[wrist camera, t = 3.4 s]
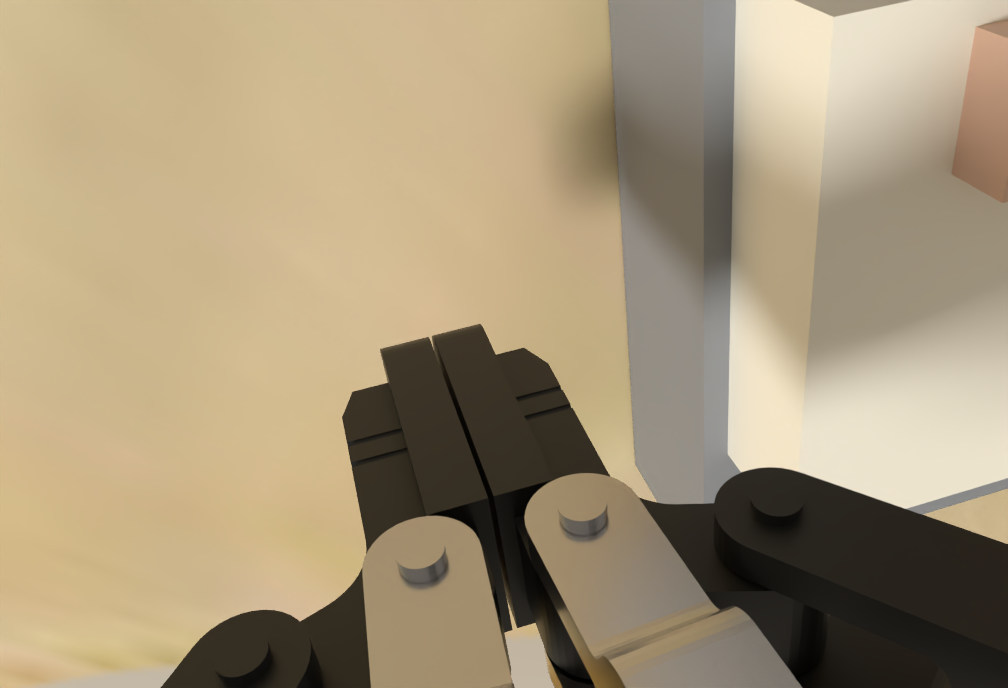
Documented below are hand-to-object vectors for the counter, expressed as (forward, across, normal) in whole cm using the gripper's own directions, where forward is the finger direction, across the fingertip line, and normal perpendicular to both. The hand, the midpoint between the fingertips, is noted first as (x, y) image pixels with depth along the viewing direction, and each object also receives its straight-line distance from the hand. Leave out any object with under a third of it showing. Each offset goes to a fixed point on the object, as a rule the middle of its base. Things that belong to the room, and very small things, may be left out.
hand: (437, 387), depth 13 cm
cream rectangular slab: (+2, -8, 0) cm, 9 cm away
